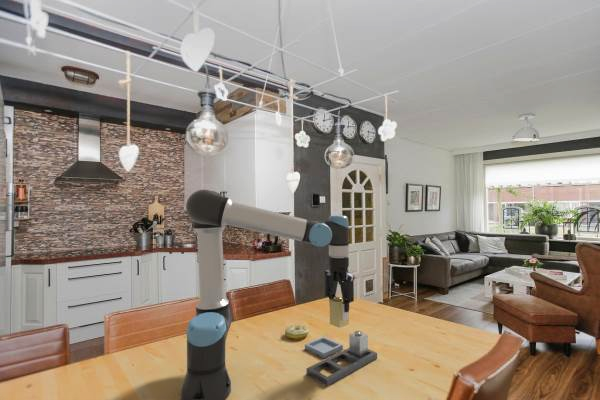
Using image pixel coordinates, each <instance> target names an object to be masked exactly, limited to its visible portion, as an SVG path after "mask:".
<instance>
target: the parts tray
mask: <svg viewBox="0 0 600 400" xmlns="http://www.w3.org/2000/svg"><path fill="white" fill-rule="evenodd" d="M304 349H305V350H306V351H308V352H310V353H312V354H314V355H316V356H318V357H320V358H322V359H323V360H325V359H327V358H329V357H331V356H333V355H335V354H338V353H340V352H342V351H344V344H342V343H340V342H337V341H335V340H332V339H330V338H328V337H325V336H322V337H318V338H317V339H314V340H312V341H309V342H306V343H305V344H304Z"/></svg>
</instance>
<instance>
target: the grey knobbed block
mask: <svg viewBox="0 0 600 400" xmlns="http://www.w3.org/2000/svg"><path fill="white" fill-rule="evenodd" d="M348 335H349V338H348V339H349V345H348V346H349V348H350V354H351V355H353V356H355V357H357V358H360V359H361V358H363V357H365V356H367V355H368V349H369V336H368V334H367V333H364V332H362V330H361V331H360V330H356V331H354V332H352V333H350V334H348Z"/></svg>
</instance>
